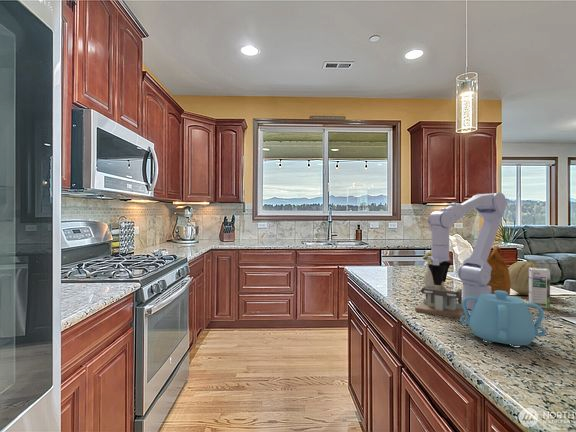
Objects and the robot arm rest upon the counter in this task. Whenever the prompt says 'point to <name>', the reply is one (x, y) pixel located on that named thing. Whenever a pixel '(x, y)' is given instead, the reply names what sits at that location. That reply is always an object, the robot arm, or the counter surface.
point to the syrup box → (539, 287)
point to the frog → (429, 275)
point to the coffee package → (498, 272)
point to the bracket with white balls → (443, 294)
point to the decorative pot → (502, 319)
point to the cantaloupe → (521, 276)
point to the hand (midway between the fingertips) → (439, 283)
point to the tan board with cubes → (441, 306)
